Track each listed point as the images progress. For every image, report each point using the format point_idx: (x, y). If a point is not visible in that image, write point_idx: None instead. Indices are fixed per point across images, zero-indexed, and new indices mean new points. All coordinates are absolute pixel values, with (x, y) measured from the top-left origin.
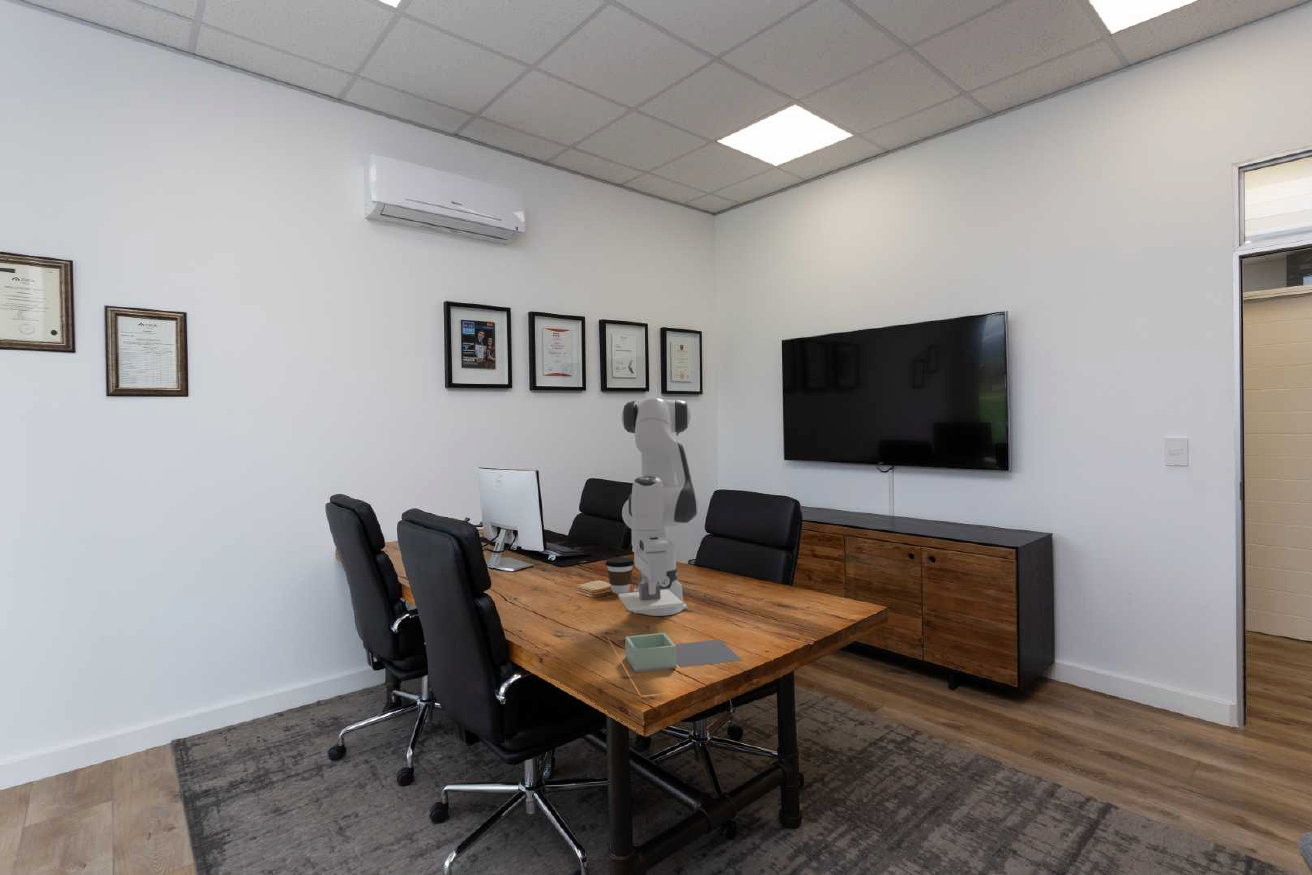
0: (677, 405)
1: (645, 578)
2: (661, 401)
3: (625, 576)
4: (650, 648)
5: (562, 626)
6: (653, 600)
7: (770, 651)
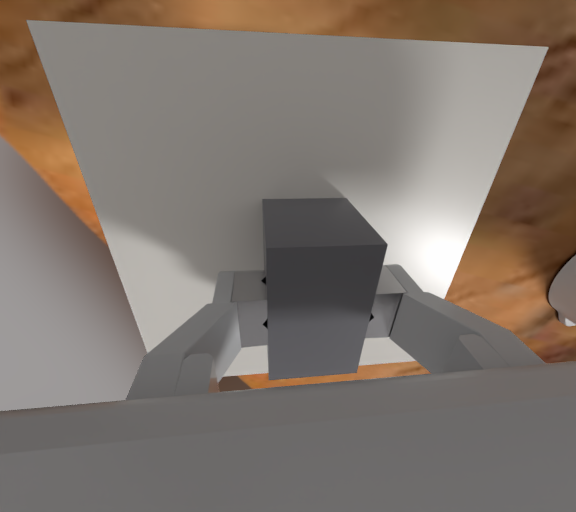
0: None
1: (438, 333)
2: None
3: None
4: None
5: None
6: (239, 268)
7: (269, 381)
